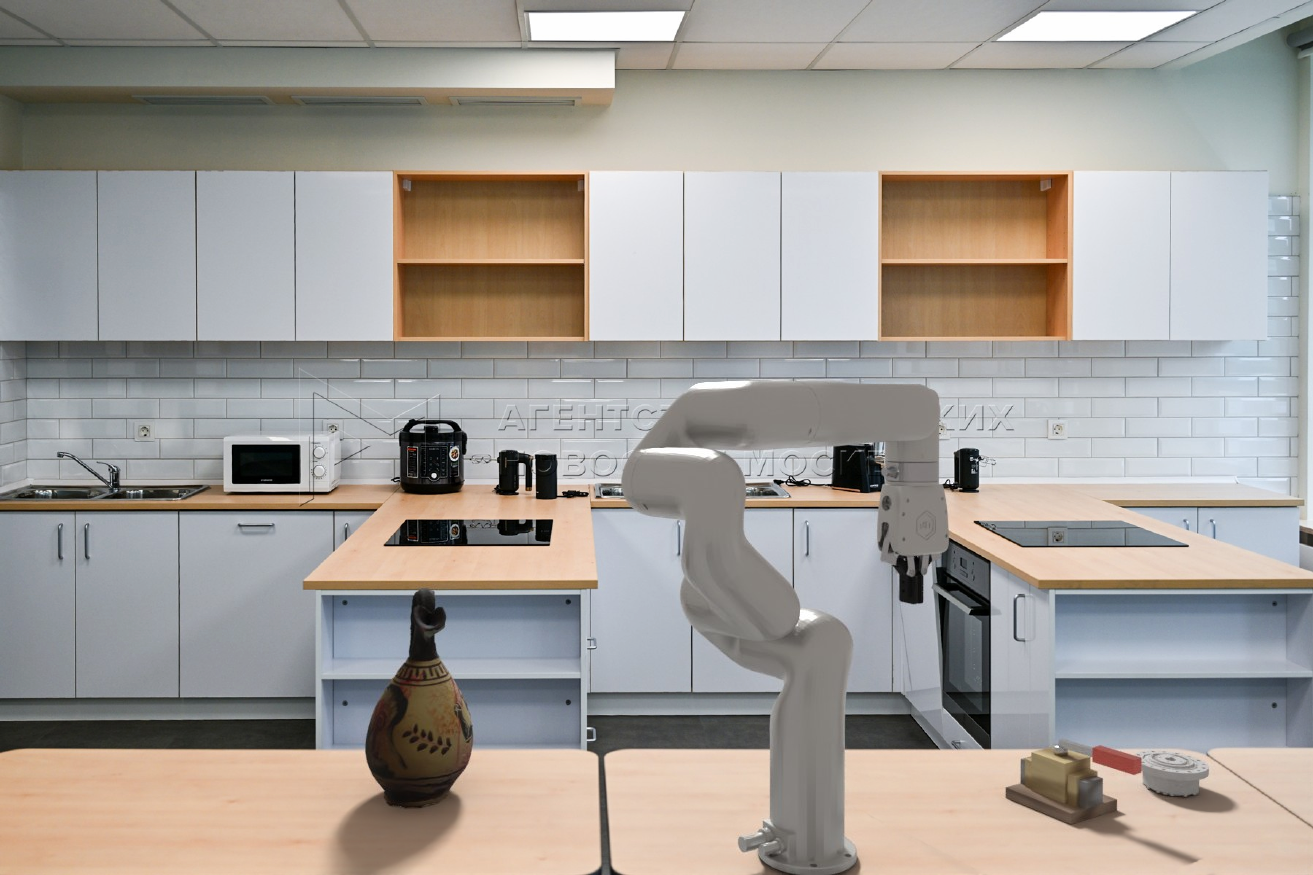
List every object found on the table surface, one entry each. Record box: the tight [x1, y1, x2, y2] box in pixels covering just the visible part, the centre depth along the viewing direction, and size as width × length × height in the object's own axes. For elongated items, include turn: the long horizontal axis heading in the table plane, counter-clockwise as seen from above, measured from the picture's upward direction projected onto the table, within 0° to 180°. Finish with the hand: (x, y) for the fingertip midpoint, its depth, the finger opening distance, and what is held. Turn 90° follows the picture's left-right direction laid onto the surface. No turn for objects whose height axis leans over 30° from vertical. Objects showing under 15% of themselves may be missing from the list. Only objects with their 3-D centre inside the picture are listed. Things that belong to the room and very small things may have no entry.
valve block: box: [1005, 746, 1118, 825], centre depth 139 cm, size 10×11×7 cm
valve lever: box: [1052, 738, 1143, 776], centre depth 135 cm, size 12×2×2 cm, turn 33°
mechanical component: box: [1133, 749, 1210, 798], centre depth 145 cm, size 10×4×10 cm
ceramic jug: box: [364, 587, 474, 809], centre depth 143 cm, size 17×15×30 cm
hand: (911, 602), depth 139 cm, fingers closed
